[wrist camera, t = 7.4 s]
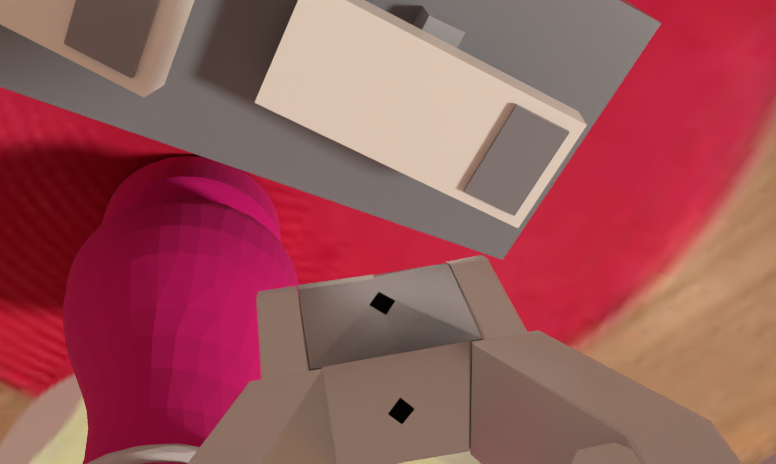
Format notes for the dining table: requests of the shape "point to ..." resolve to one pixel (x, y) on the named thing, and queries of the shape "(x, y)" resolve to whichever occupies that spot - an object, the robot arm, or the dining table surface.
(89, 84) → the breaker panel
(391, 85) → the paddle
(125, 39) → the paddle on
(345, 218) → the dining table surface
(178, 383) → the pepper mill
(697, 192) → the dining table surface
